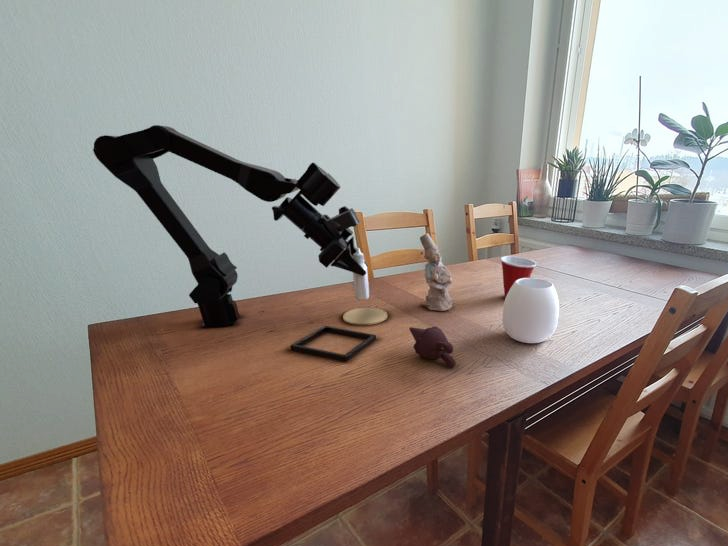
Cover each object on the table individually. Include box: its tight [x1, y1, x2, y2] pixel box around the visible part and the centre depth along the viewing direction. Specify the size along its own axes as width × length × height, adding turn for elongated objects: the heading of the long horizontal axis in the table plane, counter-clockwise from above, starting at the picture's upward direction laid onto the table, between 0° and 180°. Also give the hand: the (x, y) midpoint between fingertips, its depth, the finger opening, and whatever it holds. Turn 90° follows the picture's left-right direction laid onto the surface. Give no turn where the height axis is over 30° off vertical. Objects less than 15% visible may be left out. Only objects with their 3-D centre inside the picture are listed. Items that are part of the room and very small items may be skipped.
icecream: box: [408, 326, 457, 368], centre depth 78 cm, size 7×7×15 cm
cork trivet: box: [342, 307, 388, 326], centre depth 96 cm, size 11×11×1 cm
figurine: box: [419, 232, 453, 312], centre depth 101 cm, size 9×8×20 cm
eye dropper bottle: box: [352, 247, 370, 301], centre depth 90 cm, size 4×6×12 cm
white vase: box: [501, 277, 560, 344], centre depth 88 cm, size 13×13×14 cm
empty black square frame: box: [289, 325, 377, 363], centre depth 82 cm, size 13×11×1 cm
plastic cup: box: [500, 255, 538, 299], centre depth 113 cm, size 11×11×12 cm
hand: (365, 271), depth 90 cm, fingers closed on eye dropper bottle, 5 cm apart
